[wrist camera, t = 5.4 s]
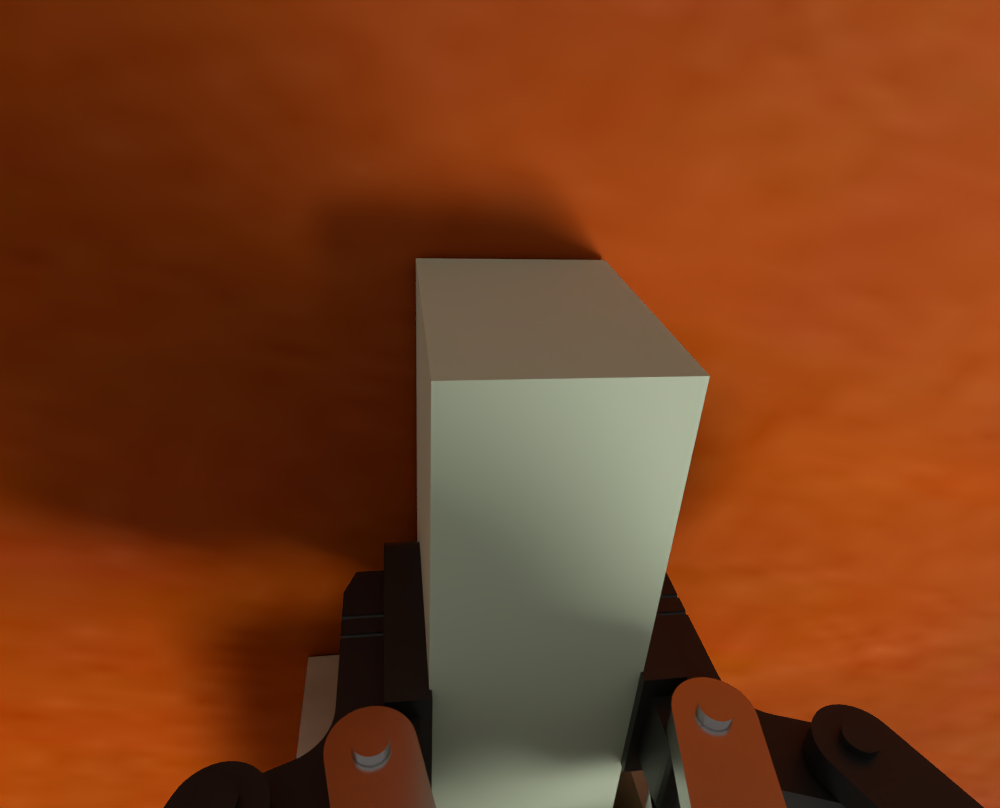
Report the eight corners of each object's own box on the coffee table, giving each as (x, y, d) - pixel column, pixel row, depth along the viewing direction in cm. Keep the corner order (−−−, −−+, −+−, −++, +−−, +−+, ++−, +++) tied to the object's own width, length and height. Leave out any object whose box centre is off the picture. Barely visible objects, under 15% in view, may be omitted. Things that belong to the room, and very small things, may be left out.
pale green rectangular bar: (604, 260, 12) (710, 375, 8) (544, 719, 18) (588, 913, 14) (415, 258, 11) (431, 380, 7) (418, 731, 17) (427, 935, 13)
